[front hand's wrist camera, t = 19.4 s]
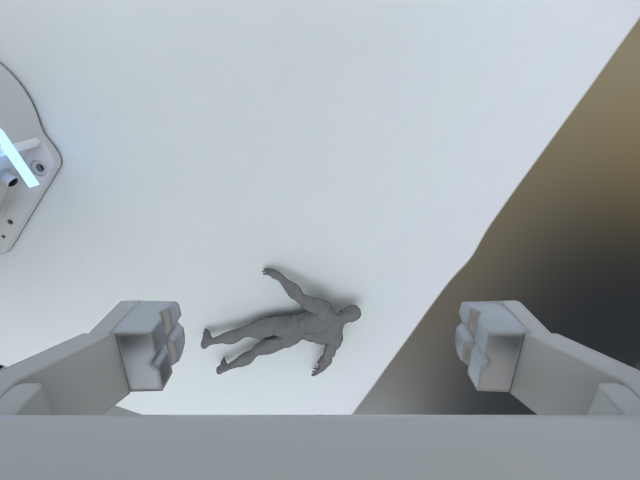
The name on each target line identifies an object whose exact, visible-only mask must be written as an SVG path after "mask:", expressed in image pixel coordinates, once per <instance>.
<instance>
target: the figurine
mask: <svg viewBox="0 0 640 480" xmlns="http://www.w3.org/2000/svg"><path fill="white" fill-rule="evenodd" d="M264 270H266V271H262V272H265V273H263V275H269V276H271V277H272V278H274V279H277V280H278V281H279V282H280V283H281V284H282V286H283V287H284V289H285V291H286V292H287V294H288V295H289V296H290V297H291V298H292V299H294V300H296V301H297V302H298V303H299V304H300V305H301V306H302V307H303V308H304V309H305V310H307V312H303V313H301V314H298V315H297V314H293V315H291V316H276V317H268V318H264V319H261V320H258V321H255V322H253V323H252V324H249V325H246V326H243V327H241V328H239V329H235V330H231V331H228V332H226V333H223V334H221V335H219V336H217V337H214V338H212V337H211V334H210V331H209V330H208V329H205V330H204V332H203V339H202V342H201V347H202V348H203V349H205V348H207V347H208V346H209V345H212V344H219V343H224V344H234V343H236V342H238V341H239V340H241V339H242V338H244V337H253V338H264V337H266V338H265V339H263V340H262V341H261V342H260V343H258V344H256V345H255V346H254V347H253V348H252V349H251V350H249V351H247V352H245V353H243V354H241V355H240V356H239V357H238V358H236V359H235V360H233V361H232V362H230V363H228V364H227V363H226V360H225V357H223V359H222V361H221V365H220V366H218V367H217V370H216V371H217V374H221V373H223V372H225V371H228V370H229V369H232V368H236V367H243V366H246V365H248V364H250V363H251V362H252V361H253V360H254V359H255V358H256V357H257V356H258V355H266V354H272V353H274V352H276V351H278V350H281V349H283V348H286V347H291V346H293V345H295V344H297V343H298V342H299V341H300V340H303V339H305V340H306V341H309V342H314V343H317V344H326V345H325V348H324V353H323V355H322V356H321V357H320V359H319V361H317V363H318V364H319V366H318V368H314V369H315V370H316V369H317V370H316V371H312V372H316V373H313V374H311V375H312V376H315V375H317V374H319V373H321V372H323V371H324V370H325V369H326V368H327V367H328V366H329V365H330V364H331V362H332V357H334V356H335V352H336V349H338V348H339V347H340V345H341V343H342V341H343V334H342V330H343V326H344V324H345V323H347V322H353V321H356V320H358V319H359V318H360V316H361V311H360V309H359V307H358V306H356V305H350V306H346V307H345V308H343V309H342V310H340V313H335V312H334V310H333V309H332V308H331V305H330V304H329V303H327V302H326V301H325V300H322V299H318V298H312V297H311V296H308V295H305V294H304V293H303V292H302V290H301V288H300V287H299V286H298V285H297V284H295V283H293V282H291V281H290V280H288V279H286V278H285V277H284V276H283V275H282V274H281V273H280V272H278V271H276V270H275V269H271V268H264Z"/></svg>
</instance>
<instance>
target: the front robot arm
mask: <svg viewBox="0 0 640 480" xmlns="http://www.w3.org/2000/svg"><path fill="white" fill-rule="evenodd" d="M41 165H42V166H43V167H44V170H43V169H42V168H41ZM60 166H61V157H60V155H59V153H58V151H57V150H56V148H55V147H54V145H53V144H52V143H51V141H50V140H49V139H48V138H47V136H46V135H45V134H44V132H43V129H42V127H41V124H40V121H39V118H38V116H37V113H36V110H35V108H34V106H33V104H32V102H31V100H30V98H29V96H28V94H27V93H26V91H25V90H24V88H23V87H22V86H21V84H20V83H19V82H18V80H17V79H16V78H15V77H14V76H13V75H12V74H11V73H10V72H9V71H8V70H7V69H6V68H5V67H4V66H3V65H2V64H0V254H3V253H6V252H8V251H10V249H11V248H12V246H13V245H14V243H15V242H16V240H17V238H18V237H19V235H20V233H21V232H22V230H23V228H24V226H25V225H26V223H27V221H28V220H29V218H30V216H31V215H32V213H33V211H34V210H35V208H36V206H37V205H38V203H39V201H40V200H41V198H42V196H43V195H44V193H45V191H46V190H47V188H48V186H49V185H50V183H51V181H52V180H53V178H54V176H55V174H56V173H57V171H58V169H59V168H60ZM180 316H181V311H180V306H179V304H178V303H177V302H176V301H122V302H120V303H119V304H118V305H117V306H116V307H115V308H114V309H113V310H112V311H111V312H110V313H109V314H108V315H107V316H106V317H105V318H104V319H103V320H102V321H101V322H100V323H99V324H98V325H97V326H96V327H95V328H94V329H93V330H92V331H91V332H90V333H89V334H81V335H79V336H77V337H74V338H72V339H70V340H68V341H65V342H63V343H61V344H59V345H56V346H54V347H52V348H50V349H48V350H45V351H43V352H41V353H39V354H36V355H34V356H32V357H30V358H27V359H25V360H23V361H21V362H18V363H16V364H14V365H12V366H9V367H7V368H5V369H3V370H0V480H640V371H639V370H637V369H635V368H633V367H630V366H628V365H626V364H624V363H621V362H619V361H617V360H615V359H612V358H610V357H608V356H606V355H604V354H601V353H599V352H597V351H595V350H592V349H590V348H588V347H586V346H583V345H581V344H579V343H577V342H575V341H572V340H570V339H568V338H566V337H563V336H561V335H559V334H551V333H550V332H549V331H548V330H547V329H546V328H545V327H544V326H543V325H542V324H541V323H540V322H539V321H538V320H537V319H536V318H535V317H534V316H533V315H532V314H531V313H530V312H529V311H528V310H527V309H526V308H525V307H524V306H523V305H522V304H521V303H520V302H518V301H516V300H514V301H483V302H462V304H461V306H460V311H459V316H460V318H461V319H462V321H463V322H462V323H461V324H460V325H459V326H458V327H457V328H456V336H455V341H456V349H457V352H458V355H459V357H460V359H461V361H462V362H464V363H465V364H467V365H468V366H469V368H468V374H469V376H470V378H471V379H472V381H473V383H474V385H475V387H476V389H477V390H478V391H506V392H510V393H511V394H512V395H513V396H514V397H516V398H517V399H518V400H520V401H521V402H522V403H523V404H525V405H526V406H527V407H528V408H530V409H531V410H532V411H534V412H535V413H536V414H537V415H103V414H104V413H105V412H107V411H108V410H109V409H110V408H112V407H113V406H114V405H116V404H117V403H118V402H119V401H121V400H122V399H123V398H124V397H126V396H127V395H128V394H130V392H134V391H163V389H164V387H165V385H166V383H167V381H168V380H169V378H170V376H171V374H172V368H171V366H172V365H173V364H175V363H176V362H178V361H179V359H180V357H181V355H182V353H183V348H184V344H185V334H184V328H183V327H182V326H181V325H180V324H179V323H178V322H177V321H178V319H179V318H180ZM3 367H4V366H3V365H0V369H1V368H3Z"/></svg>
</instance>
